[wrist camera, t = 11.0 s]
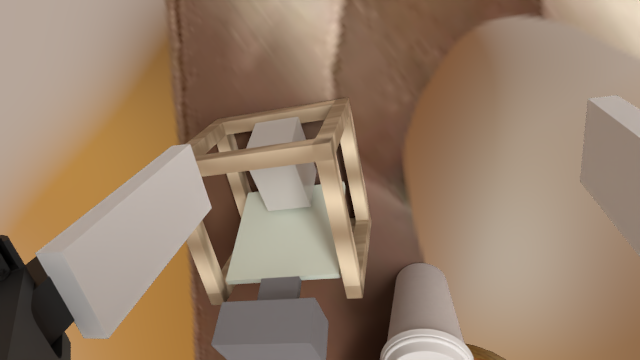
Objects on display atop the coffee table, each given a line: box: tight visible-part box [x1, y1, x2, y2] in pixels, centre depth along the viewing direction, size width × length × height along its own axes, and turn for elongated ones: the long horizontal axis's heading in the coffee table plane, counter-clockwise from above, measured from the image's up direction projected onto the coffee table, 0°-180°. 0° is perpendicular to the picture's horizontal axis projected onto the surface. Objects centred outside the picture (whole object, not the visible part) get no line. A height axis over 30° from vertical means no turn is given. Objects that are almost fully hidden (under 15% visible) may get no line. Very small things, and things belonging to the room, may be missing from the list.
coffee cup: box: [380, 263, 474, 360], centre depth 49 cm, size 10×10×15 cm
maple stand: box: [186, 97, 371, 305], centre depth 45 cm, size 16×16×14 cm
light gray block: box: [246, 117, 317, 211], centre depth 47 cm, size 6×5×8 cm
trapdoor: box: [211, 182, 345, 360], centre depth 44 cm, size 20×12×5 cm
